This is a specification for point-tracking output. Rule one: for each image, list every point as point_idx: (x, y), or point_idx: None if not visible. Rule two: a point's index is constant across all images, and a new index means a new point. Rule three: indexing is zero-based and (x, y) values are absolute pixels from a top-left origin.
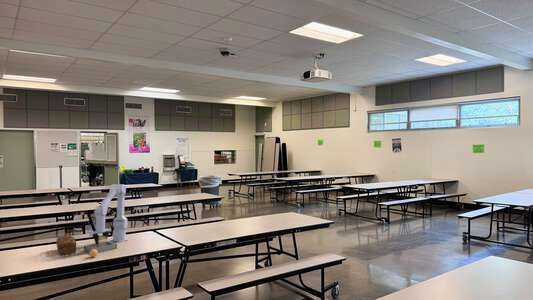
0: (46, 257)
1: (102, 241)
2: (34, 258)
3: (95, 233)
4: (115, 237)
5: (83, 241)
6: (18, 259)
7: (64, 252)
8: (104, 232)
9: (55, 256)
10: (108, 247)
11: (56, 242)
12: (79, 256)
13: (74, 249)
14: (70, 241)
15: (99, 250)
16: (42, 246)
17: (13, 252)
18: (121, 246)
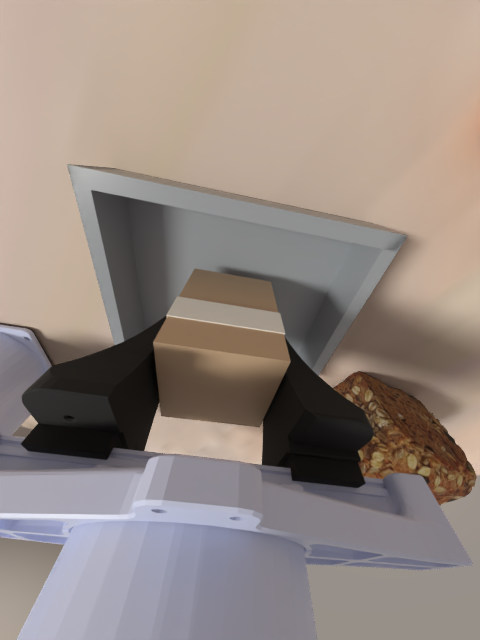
0: (453, 417)
1: (234, 309)
2: (465, 437)
3: (322, 492)
4: (23, 386)
5: (178, 453)
6: (471, 460)
7: (413, 402)
8: (119, 449)
9: (437, 401)
10: (215, 192)
11: None
12: (458, 287)
13: (378, 393)
14: (432, 474)
15: (331, 216)
16: None
17: None
18: (39, 193)
